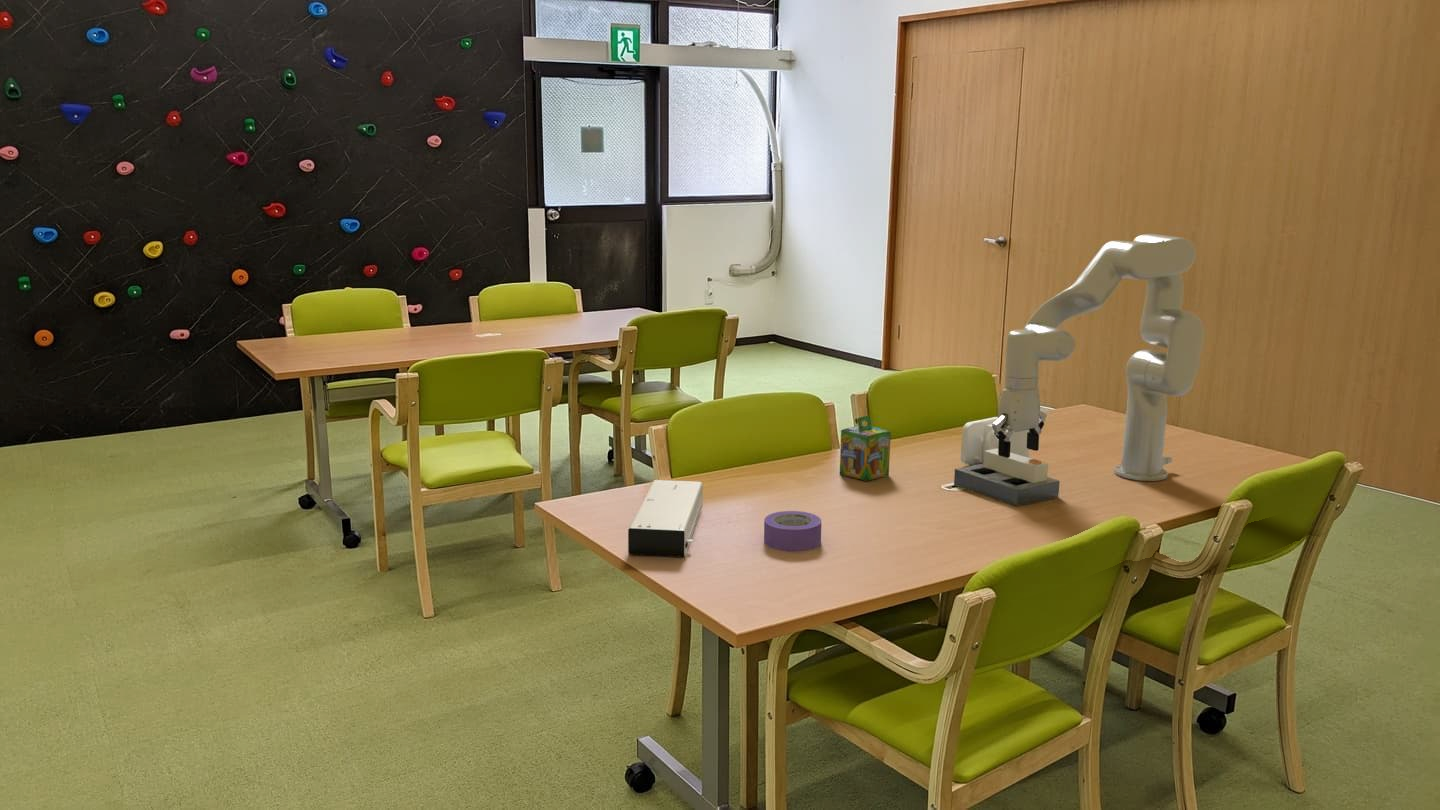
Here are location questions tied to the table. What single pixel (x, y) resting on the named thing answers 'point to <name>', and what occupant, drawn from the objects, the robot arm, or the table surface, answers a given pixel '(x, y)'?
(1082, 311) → the robot arm
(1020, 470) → the white bar with pegs
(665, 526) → the laminator
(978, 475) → the grey slotted tray
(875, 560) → the table surface
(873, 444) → the chalk box
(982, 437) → the cable organizer
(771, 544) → the tape roll
